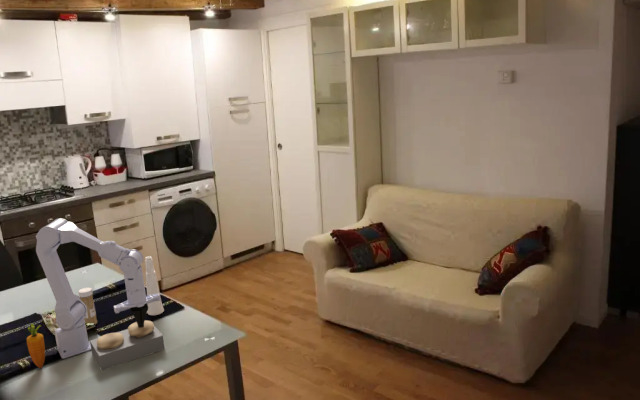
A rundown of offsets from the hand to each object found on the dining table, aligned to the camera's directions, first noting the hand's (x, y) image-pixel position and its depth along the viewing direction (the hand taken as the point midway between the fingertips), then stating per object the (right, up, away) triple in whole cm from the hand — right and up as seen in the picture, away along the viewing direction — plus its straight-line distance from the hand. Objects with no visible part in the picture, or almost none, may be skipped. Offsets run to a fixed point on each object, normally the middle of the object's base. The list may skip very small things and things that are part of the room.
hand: (140, 326), depth 182 cm
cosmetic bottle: (-3, -1, +27) cm, 27 cm away
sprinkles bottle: (-24, -4, +20) cm, 32 cm away
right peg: (0, -6, +2) cm, 6 cm away
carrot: (-29, -11, -8) cm, 32 cm away
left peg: (-8, -9, -4) cm, 12 cm away
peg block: (-4, -8, -1) cm, 9 cm away
